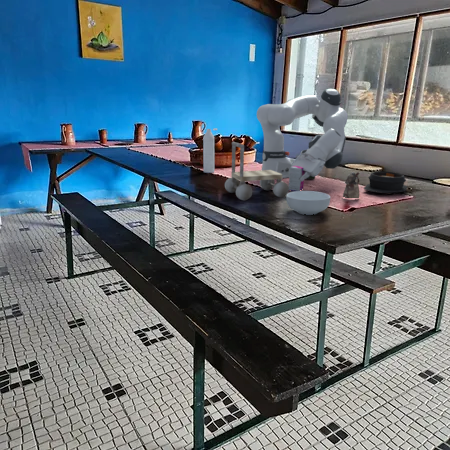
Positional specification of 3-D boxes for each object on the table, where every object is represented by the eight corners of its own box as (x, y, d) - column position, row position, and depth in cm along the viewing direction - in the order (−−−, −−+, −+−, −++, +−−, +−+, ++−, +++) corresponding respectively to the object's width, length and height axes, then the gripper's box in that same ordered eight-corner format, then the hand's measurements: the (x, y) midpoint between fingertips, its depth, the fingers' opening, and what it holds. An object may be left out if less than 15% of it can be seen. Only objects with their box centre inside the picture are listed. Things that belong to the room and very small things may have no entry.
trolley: (272, 189, 200) (274, 139, 192) (288, 196, 185) (291, 143, 178) (224, 192, 192) (224, 141, 184) (237, 201, 177) (238, 145, 170)
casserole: (381, 184, 211) (383, 168, 209) (416, 191, 198) (419, 174, 195) (353, 191, 196) (355, 174, 194) (389, 199, 182) (392, 180, 180)
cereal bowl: (322, 206, 169) (324, 190, 167) (334, 218, 154) (336, 200, 151) (282, 206, 169) (283, 190, 167) (289, 218, 153) (290, 200, 151)
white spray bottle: (206, 173, 237) (206, 129, 230) (201, 171, 243) (201, 128, 235) (219, 172, 241) (219, 128, 234) (214, 170, 247) (214, 128, 239)
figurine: (340, 196, 186) (343, 170, 182) (356, 196, 186) (359, 170, 182) (344, 200, 179) (347, 173, 175) (360, 200, 179) (364, 173, 175)
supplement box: (299, 192, 193) (300, 168, 190) (287, 190, 196) (289, 167, 193) (303, 190, 198) (305, 166, 194) (292, 188, 201) (294, 165, 197)
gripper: (330, 165, 187) (310, 187, 187) (307, 158, 206) (289, 178, 206) (323, 155, 185) (302, 178, 184) (300, 150, 203) (281, 170, 203)
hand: (295, 178), depth 195 cm, fingers closed on supplement box, 8 cm apart
